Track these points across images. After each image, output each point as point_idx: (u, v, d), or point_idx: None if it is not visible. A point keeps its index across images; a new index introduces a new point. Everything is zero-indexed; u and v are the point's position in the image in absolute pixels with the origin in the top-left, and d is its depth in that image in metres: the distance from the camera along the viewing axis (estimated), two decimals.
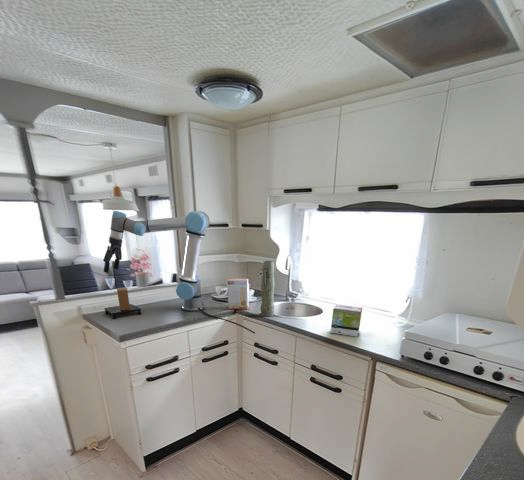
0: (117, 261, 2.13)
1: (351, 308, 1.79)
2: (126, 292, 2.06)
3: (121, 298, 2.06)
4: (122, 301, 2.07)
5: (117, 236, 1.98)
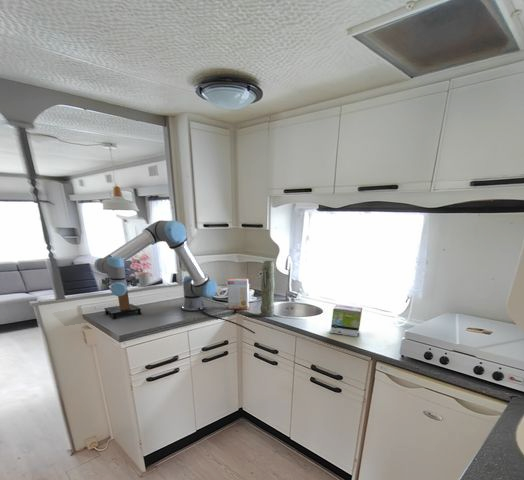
0: None
1: (351, 308, 1.79)
2: (126, 292, 2.06)
3: (121, 298, 2.06)
4: (122, 301, 2.07)
5: None
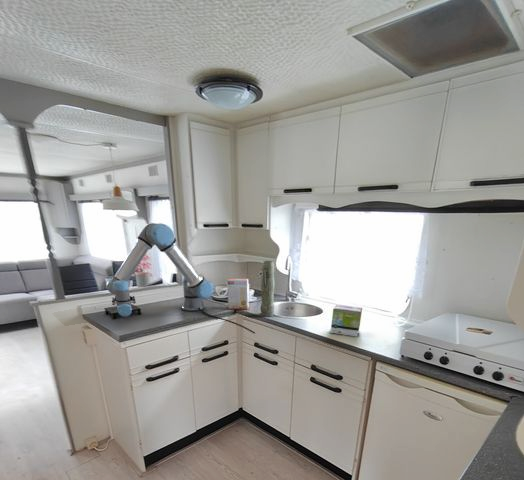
0: None
1: (351, 308, 1.79)
2: None
3: None
4: None
5: None
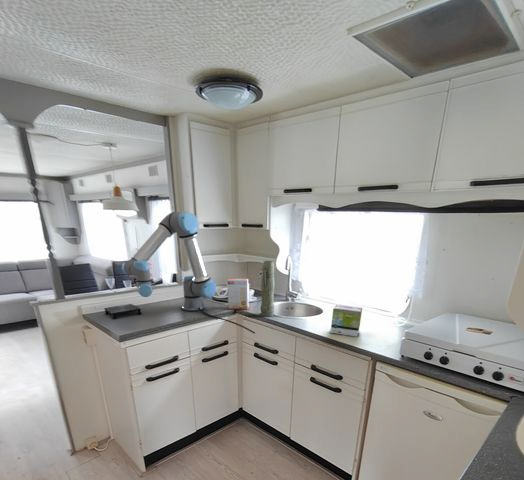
0: (136, 280, 2.07)
1: (351, 308, 1.79)
2: None
3: None
4: None
5: None
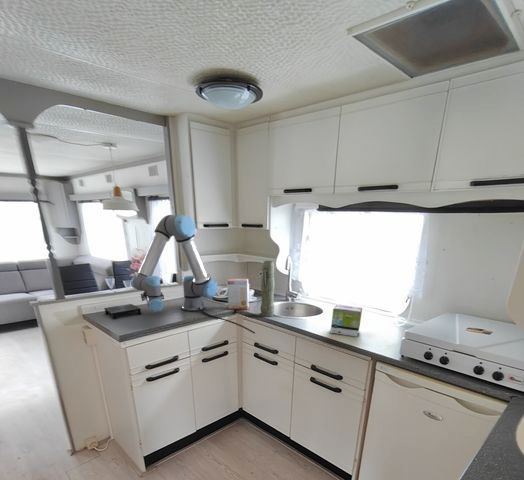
0: None
1: (351, 308, 1.79)
2: None
3: None
4: None
5: None
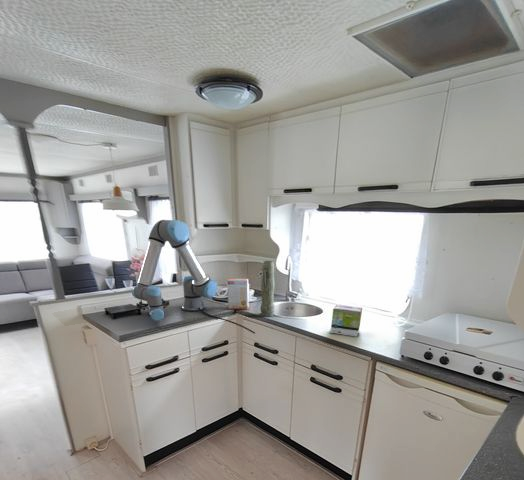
0: (142, 303, 2.10)
1: (351, 308, 1.79)
2: None
3: None
4: None
5: None
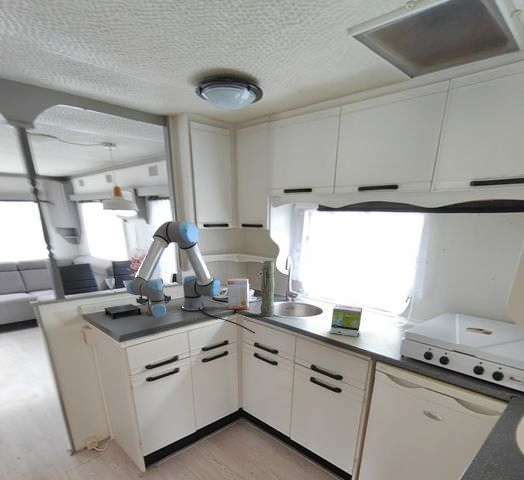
0: None
1: (351, 308, 1.79)
2: None
3: None
4: None
5: None
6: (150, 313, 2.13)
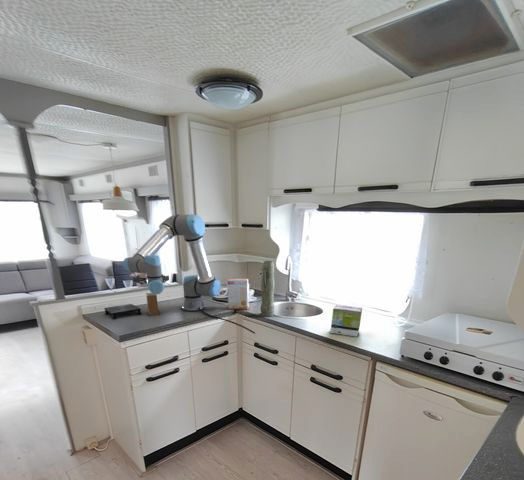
0: None
1: (351, 308, 1.79)
2: (155, 297, 2.10)
3: (151, 303, 2.11)
4: (152, 306, 2.11)
5: None
6: (150, 313, 2.13)
